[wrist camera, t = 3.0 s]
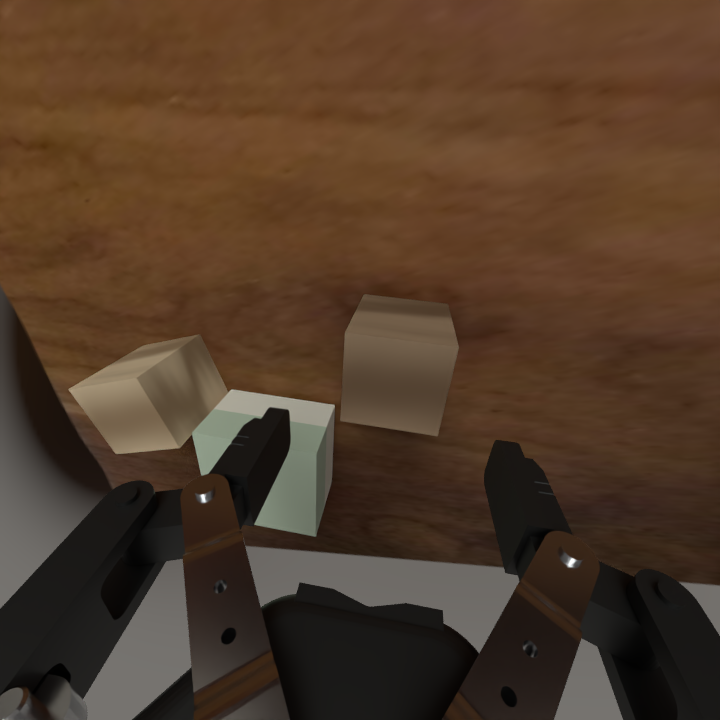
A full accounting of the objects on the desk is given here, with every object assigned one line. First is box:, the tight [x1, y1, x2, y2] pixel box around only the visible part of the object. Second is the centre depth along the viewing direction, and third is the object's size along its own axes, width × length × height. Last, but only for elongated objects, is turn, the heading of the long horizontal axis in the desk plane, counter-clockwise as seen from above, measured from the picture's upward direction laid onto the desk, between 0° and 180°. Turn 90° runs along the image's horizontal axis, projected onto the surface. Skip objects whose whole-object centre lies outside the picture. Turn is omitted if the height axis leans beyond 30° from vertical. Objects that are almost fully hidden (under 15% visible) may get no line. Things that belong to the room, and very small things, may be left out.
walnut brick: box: [340, 294, 459, 436], centre depth 18 cm, size 5×5×6 cm
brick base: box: [192, 389, 335, 537], centre depth 24 cm, size 8×8×5 cm
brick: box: [69, 335, 228, 454], centre depth 22 cm, size 5×5×6 cm
